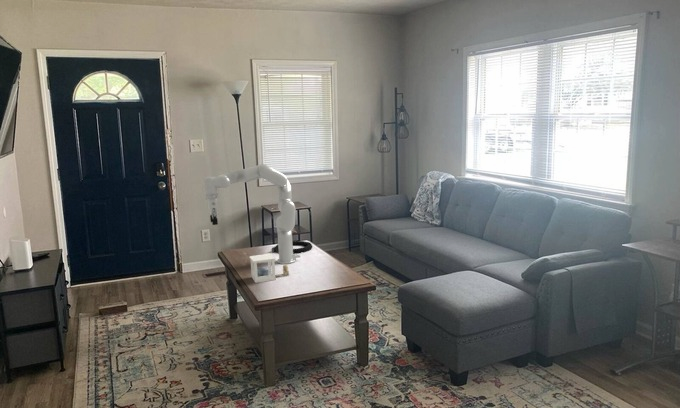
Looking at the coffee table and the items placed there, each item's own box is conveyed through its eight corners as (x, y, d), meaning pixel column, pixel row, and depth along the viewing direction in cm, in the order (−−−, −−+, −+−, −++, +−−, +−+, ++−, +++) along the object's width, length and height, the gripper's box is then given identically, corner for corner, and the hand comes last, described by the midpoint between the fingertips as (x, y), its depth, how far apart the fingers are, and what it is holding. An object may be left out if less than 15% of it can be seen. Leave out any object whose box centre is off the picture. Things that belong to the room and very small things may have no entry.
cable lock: (317, 246, 374) (277, 251, 363) (318, 251, 375) (277, 257, 363) (304, 238, 399) (266, 243, 388) (305, 243, 400) (267, 248, 388)
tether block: (287, 273, 323) (286, 264, 322) (289, 276, 317) (289, 266, 316) (256, 278, 316) (256, 268, 315) (258, 280, 311) (258, 271, 310)
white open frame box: (271, 274, 323) (270, 253, 321) (276, 279, 311) (275, 258, 309) (250, 277, 318) (249, 256, 316) (254, 283, 306) (253, 261, 304)
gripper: (219, 197, 320) (222, 225, 323) (216, 194, 336) (218, 220, 339) (207, 198, 317) (209, 226, 320) (204, 195, 333) (206, 221, 336)
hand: (214, 223), depth 329 cm, fingers open, 9 cm apart
